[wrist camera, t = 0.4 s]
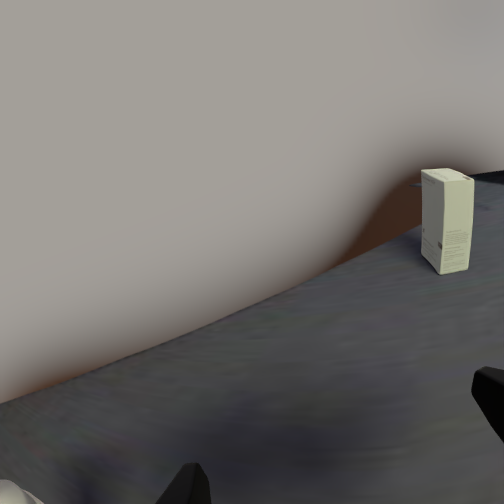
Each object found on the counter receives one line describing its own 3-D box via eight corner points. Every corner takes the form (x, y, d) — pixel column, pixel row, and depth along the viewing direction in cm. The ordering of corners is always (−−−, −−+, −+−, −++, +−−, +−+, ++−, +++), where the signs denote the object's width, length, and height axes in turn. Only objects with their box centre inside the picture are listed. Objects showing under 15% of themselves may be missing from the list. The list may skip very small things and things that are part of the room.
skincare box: (420, 255, 48) (417, 169, 43) (448, 249, 47) (447, 166, 42) (440, 277, 41) (441, 179, 35) (471, 270, 40) (474, 176, 34)
